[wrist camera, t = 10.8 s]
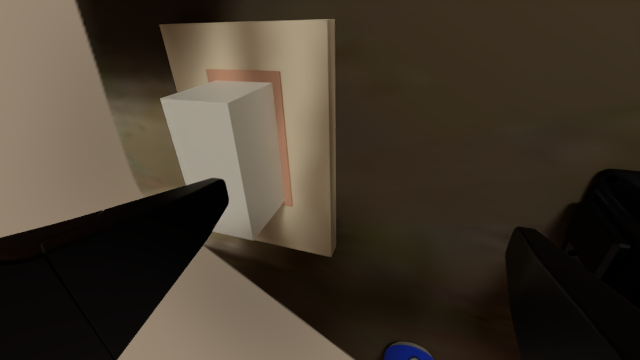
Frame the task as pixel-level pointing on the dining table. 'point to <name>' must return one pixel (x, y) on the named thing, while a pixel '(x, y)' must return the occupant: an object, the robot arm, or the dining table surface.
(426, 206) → the dining table surface
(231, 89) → the block
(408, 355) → the beverage can
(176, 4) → the dining table surface
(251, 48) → the board
